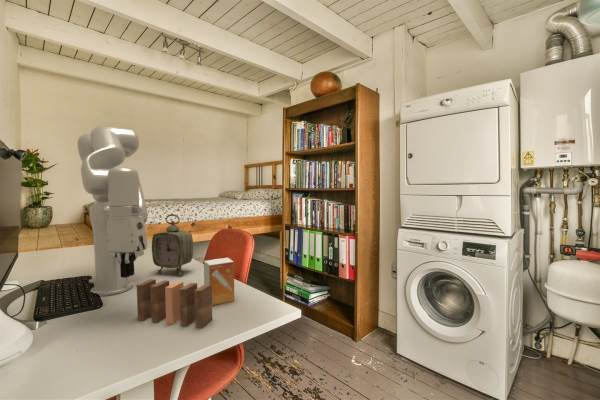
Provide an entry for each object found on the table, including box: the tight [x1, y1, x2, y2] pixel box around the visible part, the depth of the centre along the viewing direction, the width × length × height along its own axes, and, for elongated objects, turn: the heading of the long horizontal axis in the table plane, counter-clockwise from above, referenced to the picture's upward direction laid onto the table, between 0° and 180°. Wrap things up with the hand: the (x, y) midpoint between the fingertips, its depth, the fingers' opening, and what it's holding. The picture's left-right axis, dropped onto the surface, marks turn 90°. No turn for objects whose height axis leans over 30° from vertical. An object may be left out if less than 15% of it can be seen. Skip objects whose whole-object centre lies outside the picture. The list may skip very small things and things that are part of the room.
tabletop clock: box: [151, 213, 194, 277], centre depth 122 cm, size 14×9×25 cm, turn 73°
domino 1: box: [136, 278, 157, 322], centre depth 82 cm, size 2×5×10 cm, turn 166°
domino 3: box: [165, 280, 185, 325], centre depth 80 cm, size 2×5×10 cm, turn 166°
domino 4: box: [179, 282, 198, 327], centre depth 79 cm, size 2×5×10 cm, turn 166°
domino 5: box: [194, 283, 213, 329], centre depth 78 cm, size 2×5×10 cm, turn 166°
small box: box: [203, 257, 235, 307], centre depth 93 cm, size 8×6×13 cm
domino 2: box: [151, 279, 170, 324], centre depth 81 cm, size 2×5×10 cm, turn 167°
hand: (127, 276), depth 83 cm, fingers closed
